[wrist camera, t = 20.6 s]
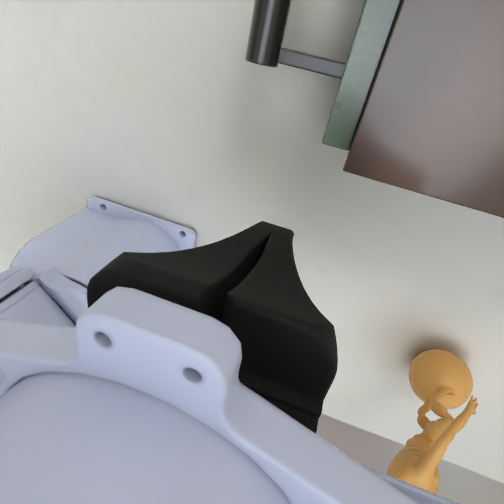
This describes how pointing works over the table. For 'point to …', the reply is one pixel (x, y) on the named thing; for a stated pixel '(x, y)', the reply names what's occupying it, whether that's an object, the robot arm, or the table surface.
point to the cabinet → (438, 105)
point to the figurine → (438, 399)
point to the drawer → (351, 73)
